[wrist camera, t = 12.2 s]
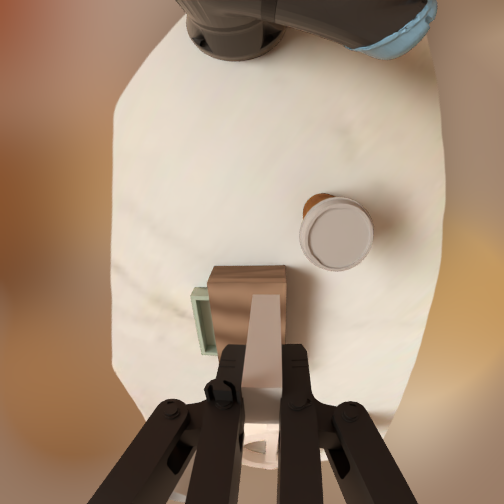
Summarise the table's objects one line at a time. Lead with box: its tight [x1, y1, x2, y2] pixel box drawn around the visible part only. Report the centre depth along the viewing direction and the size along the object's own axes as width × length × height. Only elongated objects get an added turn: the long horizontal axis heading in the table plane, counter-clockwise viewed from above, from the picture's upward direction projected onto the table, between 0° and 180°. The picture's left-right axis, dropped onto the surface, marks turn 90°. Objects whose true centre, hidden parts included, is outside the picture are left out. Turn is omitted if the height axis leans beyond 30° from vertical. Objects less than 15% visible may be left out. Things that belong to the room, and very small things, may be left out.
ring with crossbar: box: [242, 423, 279, 469], centre depth 68 cm, size 28×28×5 cm
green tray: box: [190, 287, 218, 356], centre depth 50 cm, size 14×12×3 cm
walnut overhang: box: [207, 265, 287, 363], centre depth 48 cm, size 22×12×6 cm, turn 2°
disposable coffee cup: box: [299, 193, 374, 272], centre depth 37 cm, size 10×10×12 cm
